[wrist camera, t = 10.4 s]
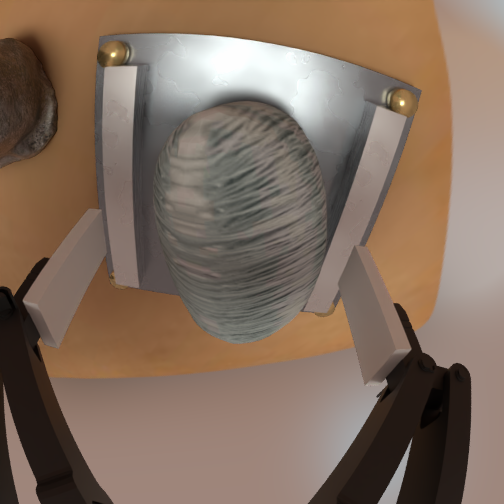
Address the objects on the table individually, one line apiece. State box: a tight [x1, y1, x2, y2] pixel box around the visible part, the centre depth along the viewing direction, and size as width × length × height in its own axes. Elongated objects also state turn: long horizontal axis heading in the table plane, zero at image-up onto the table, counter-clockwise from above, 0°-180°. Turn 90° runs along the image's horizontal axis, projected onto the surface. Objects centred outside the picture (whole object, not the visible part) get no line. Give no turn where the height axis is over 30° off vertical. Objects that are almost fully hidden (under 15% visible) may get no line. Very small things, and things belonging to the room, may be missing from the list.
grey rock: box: [153, 101, 327, 344], centre depth 17 cm, size 14×10×10 cm
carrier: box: [95, 33, 422, 317], centre depth 19 cm, size 20×20×3 cm
